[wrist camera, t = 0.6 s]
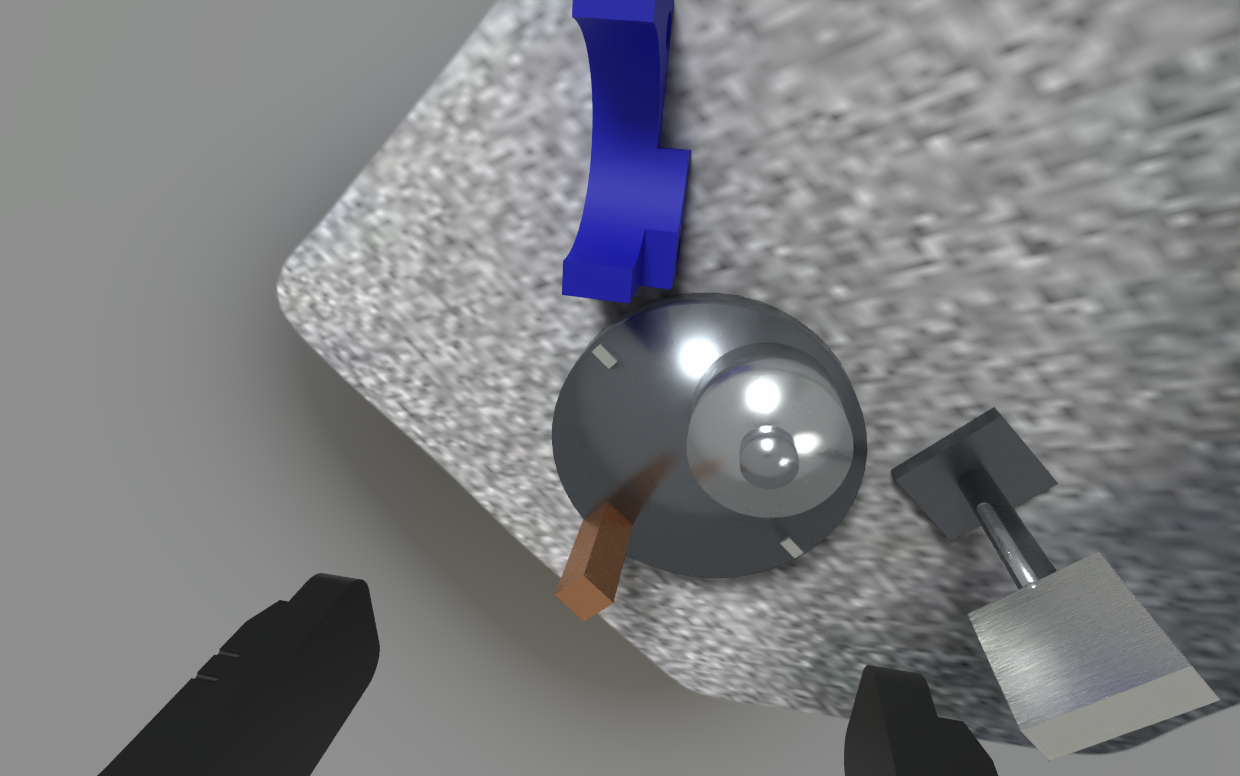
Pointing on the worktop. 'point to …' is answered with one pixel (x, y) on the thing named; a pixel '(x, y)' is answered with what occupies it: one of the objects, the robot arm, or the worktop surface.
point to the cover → (768, 431)
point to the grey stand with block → (1051, 604)
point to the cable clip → (628, 156)
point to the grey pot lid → (673, 449)
